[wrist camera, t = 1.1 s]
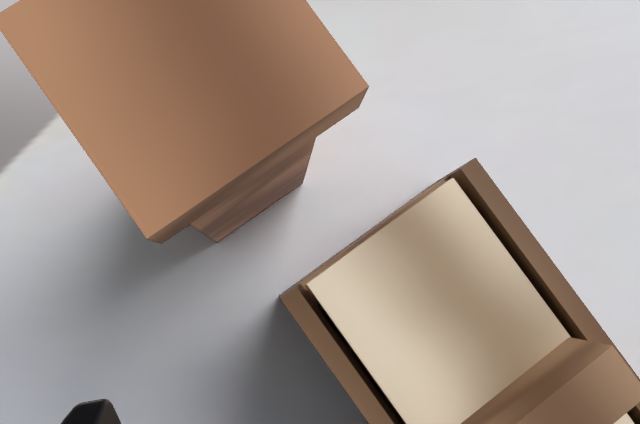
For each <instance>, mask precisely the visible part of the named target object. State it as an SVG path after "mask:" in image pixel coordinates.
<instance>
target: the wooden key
mask: <svg viewBox="0 0 640 424" xmlns="http://www.w3.org/2000/svg"><path fill="white" fill-rule="evenodd" d="M0 30H1V32H2V33H3V35H4V36H5V38H6V39H7V40H8V42H9V43H10V45H11V46H12V48H13V49H14V51H15V52H16V53H17V55H18V56H19V58H20V59H21V61H22V62H23V63H24V65H25V66H26V67H27V69H28V71H29V72H30V73H31V75H32V76H33V78H34V79H35V80H36V82H37V83H38V85H39V86H40V87H41V89H42V90H43V92H44V93H45V95H46V96H47V98H48V99H49V100H50V102H51V103H52V105H53V106H54V108H55V109H56V110H57V112H58V113H59V115H60V116H61V118H62V119H63V120H64V122H65V123H66V125H67V126H68V128H69V129H70V130H71V132H72V133H73V135H74V136H75V138H76V139H77V140H78V142H79V143H80V145H81V146H82V147H83V149H84V150H85V152H86V153H87V155H88V156H89V157H90V159H91V160H92V162H93V163H94V165H95V166H96V167H97V169H98V170H99V172H100V173H101V175H102V176H103V177H104V179H105V180H106V182H107V183H108V185H109V186H110V187H111V189H112V190H113V192H114V193H115V195H116V196H117V197H118V199H119V200H120V202H121V203H122V205H123V206H124V207H125V209H126V210H127V212H128V213H129V214H130V216H131V217H132V219H133V220H134V222H135V223H136V224H137V226H138V227H139V229H140V230H141V232H142V233H143V234H144V236H145V237H146V239H148V240H151V241H154V242H157V243H160V244H162V243H163V242H165V241H166V240H168V239H169V238H171V237H172V236H174V235H175V234H176V233H178V232H179V231H181V230H182V229H184V228H185V227H187V226H188V225H192V226H193V227H195V228H196V229H198V230H199V231H201V232H202V233H204V234H205V235H207V236H208V237H209V238H211V239H212V240H214V241H215V242H217V243H218V242H219V241H221V240H222V239H224V238H225V237H227V236H228V235H229V234H231V233H232V232H234V231H235V230H236V229H238V228H239V227H241V226H242V225H244V224H245V223H246V222H248V221H249V220H251V219H252V218H254V217H255V216H256V215H258V214H259V213H261V212H262V211H264V210H265V209H266V208H268V207H269V206H271V205H272V204H274V203H275V202H276V201H278V200H279V199H281V198H282V197H284V196H285V195H286V194H288V193H289V192H291V191H292V190H294V189H295V188H296V187H298V186H299V185H301V184H302V183H303V180H304V177H305V173H306V170H307V166H308V163H309V159H310V156H311V153H312V149H313V146H314V142H315V139H316V137H317V136H318V135H320V134H321V133H323V132H324V131H326V130H327V129H328V128H330V127H331V126H333V125H334V124H336V123H337V122H339V121H340V120H342V119H343V118H344V117H346V116H347V115H349V114H350V113H352V112H353V111H355V110H356V109H357V108H359V106H360V104H361V102H362V100H363V98H364V96H365V94H366V92H367V89H368V87H369V86H368V84H367V83H366V82H365V80H364V79H363V78H362V76H361V75H360V73H359V72H358V71H357V69H356V68H355V67H354V65H353V64H352V63H351V61H350V60H349V59H348V57H347V56H346V54H345V53H344V52H343V50H342V49H341V48H340V46H339V45H338V44H337V42H336V41H335V39H334V38H333V37H332V35H331V34H330V33H329V31H328V30H327V29H326V27H325V26H324V25H323V23H322V22H321V20H320V19H319V18H318V16H317V15H316V14H315V12H314V11H313V10H312V8H311V7H310V5H309V4H308V3H307V1H306V0H20V1H18V2H17V3H15V4H13V5H12V6H10V7H8V8H7V9H5V10H4V11H2V12H0Z"/></svg>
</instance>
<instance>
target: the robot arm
mask: <svg viewBox="0 0 640 424" xmlns="http://www.w3.org/2000/svg"><path fill="white" fill-rule="evenodd" d="M61 424H121V422H120V420H119V418H118V416H117V413H116V411H115V409H114V407H113V405H112V403H111V402H110V401H109V400H107V399H100V400H94V401H88V402H83V403H80V404H78V405H76V406H75V407H74V408H73V409H72V410H71V411H70V413H69V414H68V415H67V416H66V418H65V419H64V420H63V421H62V422H61Z"/></svg>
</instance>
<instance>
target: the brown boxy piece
mask: <svg viewBox="0 0 640 424" xmlns="http://www.w3.org/2000/svg"><path fill="white" fill-rule="evenodd" d="M452 178H454V179H455V181H456V182H457V183H458V185H459V186H460V187H461V189H462V190H463V192H464V193H465V194H466V196H467V197H468V198H469V200H470V201H471V202H472V204H473V205H474V206H475V208H476V209H477V211H478V212H479V213H480V215H481V216H482V217H483V219H484V220H485V221H486V223H487V224H488V225H489V227H490V228H491V230H492V231H493V232H494V234H495V235H496V236H497V238H498V239H499V240H500V242H501V243H502V244H503V246H504V247H505V248H506V250H507V251H508V253H509V254H510V255H511V257H512V258H513V259H514V261H515V262H516V263H517V265H518V266H519V267H520V269H521V270H522V272H523V273H524V274H525V276H526V277H527V278H528V280H529V281H530V282H531V284H532V285H533V286H534V288H535V289H536V291H537V292H538V293H539V295H540V296H541V297H542V299H543V300H544V301H545V303H546V304H547V305H548V307H549V308H550V309H551V311H552V312H553V314H554V315H555V316H556V318H557V319H558V320H559V322H560V323H561V324H562V326H563V327H564V328H565V330H566V331H567V333H568V334H569V335H570V337H571V338H576V339H581V340H587V341H592V342H597V343H602V344H608V345H613V347H614V348H615V349H616V351H617V352H618V353H619V355H620V356H621V357H622V359H623V360H624V361H625V363H626V364H627V366H628V367H629V368H630V370H631V371H632V372H633V374H634V375H635V376H636V378H637V379H638V380H639V382H640V379H639V377H638V376H637V375H636V373H635V372H634V371H633V369H632V368H631V367H630V365H629V364H628V363H627V361H626V360H625V359H624V357H623V356H622V355H621V353H620V352H619V350H618V349H617V348H616V346H615V345H614V344H613V342H612V341H611V340H610V338H609V337H608V336H607V334H606V333H605V332H604V330H603V329H602V328H601V326H600V325H599V324H598V322H597V321H596V319H595V318H594V317H593V315H592V314H591V313H590V311H589V310H588V309H587V307H586V306H585V305H584V303H583V302H582V301H581V299H580V298H579V297H578V295H577V294H576V293H575V291H574V290H573V288H572V287H571V286H570V284H569V283H568V282H567V280H566V279H565V278H564V276H563V275H562V274H561V272H560V271H559V270H558V268H557V267H556V266H555V264H554V263H553V261H552V260H551V259H550V257H549V256H548V255H547V253H546V252H545V251H544V249H543V248H542V247H541V245H540V244H539V243H538V241H537V240H536V239H535V237H534V236H533V235H532V233H531V232H530V230H529V229H528V228H527V226H526V225H525V224H524V222H523V221H522V220H521V218H520V217H519V216H518V214H517V213H516V212H515V210H514V209H513V208H512V206H511V205H510V204H509V202H508V201H507V199H506V198H505V197H504V195H503V194H502V193H501V191H500V190H499V189H498V187H497V186H496V185H495V183H494V182H493V181H492V179H491V178H490V177H489V175H488V174H487V172H486V171H485V170H484V168H483V167H482V166H481V164H480V163H479V162H478V160H477V159H476V158H474V159H473V160H471V161H469V162H468V163H466V164H464V165H463V166H461V167H460V168H458V169H456V170H455V171H453V172H451V173H450V174H448V175H447V176H445V177H443V178H442V179H440V180H438V181H437V182H435V183H434V184H432V185H431V186H429V187H428V188H427V189H425V190H424V191H423V192H421V193H420V194H418V195H417V196H416V197H414V198H413V199H412V200H410V201H409V202H407V203H406V204H405V205H403V206H402V207H401V208H399V209H398V210H396V211H395V212H394V213H392V214H391V215H390V216H388V217H387V218H385V219H384V220H383V221H381V222H380V223H378V224H377V225H376V226H374V227H373V228H372V229H370V230H369V231H367V232H366V233H365V234H363V235H362V236H361V237H359V238H358V239H356V240H355V241H354V242H352V243H351V244H350V245H348V246H347V247H345V248H344V249H343V250H341V251H340V252H339V253H337V254H336V255H334V256H333V257H332V258H330V259H329V260H328V261H326V262H325V263H323V264H322V265H321V266H319V267H318V268H317V269H315V270H314V271H312V272H311V273H310V274H308V275H307V276H305V277H304V278H303V279H301V280H300V281H299V282H297V283H296V284H294V285H293V286H292V287H290V288H289V289H288V290H286V291H285V292H283V293H282V294H281V295H279V296H280V299H281V301H282V302H283V303H284V305H285V306H286V308H287V309H288V310H289V312H290V313H291V315H292V316H293V318H294V319H295V320H296V322H297V323H298V325H299V326H300V327H301V329H302V330H303V332H304V333H305V334H306V336H307V337H308V339H309V340H310V341H311V343H312V344H313V346H314V347H315V348H316V350H317V351H318V353H319V354H320V356H321V357H322V358H323V360H324V361H325V363H326V364H327V365H328V367H329V368H330V370H331V371H332V372H333V374H334V375H335V377H336V378H337V379H338V381H339V382H340V384H341V385H342V386H343V388H344V389H345V391H346V392H347V393H348V395H349V396H350V398H351V399H352V401H353V402H354V403H355V405H356V406H357V408H358V409H359V410H360V412H361V413H362V415H363V416H364V417H365V419H366V420H367V422H368V423H369V424H405V423H404V422H403V420H402V419H401V417H400V416H399V415H398V413H397V412H396V410H395V409H394V408H393V406H392V405H391V403H390V402H389V401H388V399H387V398H386V396H385V395H384V394H383V392H382V391H381V389H380V388H379V387H378V385H377V384H376V382H375V381H374V380H373V378H372V377H371V375H370V374H369V373H368V371H367V370H366V368H365V367H364V366H363V364H362V363H361V361H360V360H359V359H358V357H357V356H356V354H355V353H354V352H353V350H352V349H351V347H350V346H349V345H348V343H347V342H346V340H345V339H344V338H343V336H342V335H341V333H340V332H339V331H338V329H337V328H336V326H335V325H334V324H333V322H332V321H331V319H330V318H329V317H328V315H327V314H326V312H325V311H324V310H323V308H322V307H321V305H320V304H319V303H318V301H317V300H316V298H315V297H314V296H313V294H312V293H311V291H310V290H309V289H308V287H307V286H306V283H308V282H309V281H310V280H312V279H313V278H314V277H316V276H317V275H319V274H320V273H321V272H323V271H324V270H325V269H327V268H328V267H330V266H331V265H332V264H334V263H335V262H336V261H338V260H339V259H341V258H342V257H343V256H345V255H346V254H347V253H349V252H350V251H352V250H353V249H354V248H356V247H357V246H358V245H360V244H361V243H363V242H364V241H365V240H367V239H368V238H369V237H371V236H372V235H374V234H375V233H376V232H378V231H379V230H380V229H382V228H383V227H385V226H386V225H387V224H389V223H390V222H391V221H393V220H394V219H396V218H397V217H398V216H400V215H401V214H402V213H404V212H405V211H407V210H408V209H409V208H411V207H412V206H413V205H415V204H416V203H418V202H419V201H420V200H422V199H423V198H424V197H426V196H427V195H428V194H430V193H431V192H433V191H434V190H435V189H437V188H438V187H439V186H441V185H442V184H444V183H445V182H446V181H448V180H450V179H452ZM627 414H628V415H629V417H630V418H631V419H632V421H633V422H634V423H635V424H640V402H639V403H638V404H637V405H635V406H634V407H633V408H632V409H631V410H629V411H628V412H627Z"/></svg>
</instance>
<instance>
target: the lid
mask: <svg viewBox="0 0 640 424" xmlns="http://www.w3.org/2000/svg"><path fill="white" fill-rule="evenodd" d="M306 286H307V287H308V289H309V290H310V291H311V293H312V294H313V296H314V297H315V298H316V300H317V301H318V303H319V304H320V305H321V307H322V308H323V310H324V311H325V312H326V314H327V315H328V317H329V318H330V319H331V321H332V322H333V324H334V325H335V326H336V328H337V329H338V331H339V332H340V333H341V335H342V336H343V338H344V339H345V340H346V342H347V343H348V345H349V346H350V347H351V349H352V350H353V352H354V353H355V354H356V356H357V357H358V359H359V360H360V361H361V363H362V364H363V366H364V367H365V368H366V370H367V371H368V373H369V374H370V375H371V377H372V378H373V380H374V381H375V382H376V384H377V385H378V387H379V388H380V389H381V391H382V392H383V394H384V395H385V396H386V398H387V399H388V401H389V402H390V403H391V405H392V406H393V408H394V409H395V410H396V412H397V413H398V415H399V416H400V417H401V419H402V420H403V422H404V423H405V424H635V423H634V422H633V421H632V419H631V418H630V417H629V415H628V414H627V412H628V411H629V410H631V409H632V408H633V407H634V406H635V405H637V404H638V403H639V402H640V382H639V380H638V379H637V378H636V376H635V375H634V374H633V372H632V371H631V370H630V368H629V367H628V366H627V364H626V363H625V361H624V360H623V359H622V357H621V356H620V355H619V353H618V352H617V351H616V349H615V348H614V347H613V345H608V344H602V343H597V342H592V341H587V340H581V339H576V338H571V337H570V335H569V334H568V333H567V331H566V330H565V328H564V327H563V326H562V324H561V323H560V322H559V320H558V319H557V318H556V316H555V315H554V314H553V312H552V311H551V309H550V308H549V307H548V305H547V304H546V303H545V301H544V300H543V299H542V297H541V296H540V295H539V293H538V292H537V291H536V289H535V288H534V286H533V285H532V284H531V282H530V281H529V280H528V278H527V277H526V276H525V274H524V273H523V272H522V270H521V269H520V267H519V266H518V265H517V263H516V262H515V261H514V259H513V258H512V257H511V255H510V254H509V253H508V251H507V250H506V248H505V247H504V246H503V244H502V243H501V242H500V240H499V239H498V238H497V236H496V235H495V234H494V232H493V231H492V230H491V228H490V227H489V225H488V224H487V223H486V221H485V220H484V219H483V217H482V216H481V215H480V213H479V212H478V211H477V209H476V208H475V206H474V205H473V204H472V202H471V201H470V200H469V198H468V197H467V196H466V194H465V193H464V192H463V190H462V189H461V187H460V186H459V185H458V183H457V182H456V181H455V179H454V178H452V179H450V180H448V181H446V182H445V183H444V184H442V185H441V186H439V187H438V188H437V189H435V190H434V191H433V192H431V193H430V194H428V195H427V196H426V197H424V198H423V199H422V200H420V201H419V202H418V203H416V204H415V205H413V206H412V207H411V208H409V209H408V210H407V211H405V212H404V213H402V214H401V215H400V216H398V217H397V218H396V219H394V220H393V221H391V222H390V223H389V224H387V225H386V226H385V227H383V228H382V229H380V230H379V231H378V232H376V233H375V234H374V235H372V236H371V237H369V238H368V239H367V240H365V241H364V242H363V243H361V244H360V245H358V246H357V247H356V248H354V249H353V250H352V251H350V252H349V253H347V254H346V255H345V256H343V257H342V258H341V259H339V260H338V261H336V262H335V263H334V264H332V265H331V266H330V267H328V268H327V269H325V270H324V271H323V272H321V273H320V274H319V275H317V276H316V277H314V278H313V279H312V280H310V281H309V282H308V283H306Z"/></svg>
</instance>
